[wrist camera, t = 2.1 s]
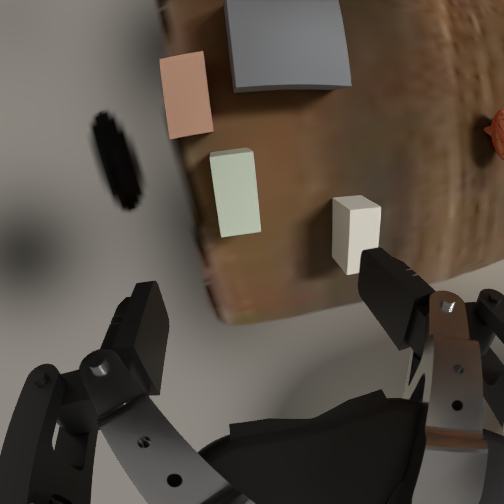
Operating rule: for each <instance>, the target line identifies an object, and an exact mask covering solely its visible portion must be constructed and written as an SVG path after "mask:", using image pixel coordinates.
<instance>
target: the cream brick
mask: <svg viewBox="0 0 504 504" xmlns="http://www.w3.org/2000/svg"><path fill="white" fill-rule="evenodd" d="M332 202H333V219H332V257H333V259H334V260H335V261H336V262H337V263H338V265H339V266H340V267H341V268H342V270H343V271H344V272H345V273H346V275H350V274H355V273H359V268H360V257H361V253H362V251H363V250H366V249H372V248H378V242H379V231H380V218H381V207H380V206H379V205H377V204H375V203H374V202H372V201H370V200H368V199H367V198H365V197H363V196H361V195H358V196H347V197H336V198H332Z"/></svg>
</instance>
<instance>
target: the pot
mask: <svg viewBox="0 0 504 504" xmlns="http://www.w3.org/2000/svg"><path fill="white" fill-rule="evenodd" d="M484 131H485V132H486V133H487V134H489V135H490V136H491V138H492V142H493V145H494V148H495V150H496V152H497V154H498V155H499V156H500V157H501V158H502V159H503V160H504V109H502V110H499V111H498V112H497V113H496V115H495V116H494V118H493V120H492V123H491V126H487V127H484Z"/></svg>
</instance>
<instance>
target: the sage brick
mask: <svg viewBox="0 0 504 504" xmlns="http://www.w3.org/2000/svg"><path fill="white" fill-rule="evenodd" d="M210 164H211V171H212V179H213V186H214V193H215V200H216V206H217V213H218V220H219V226H220V233H221V237H228V236H234V235H241V234H248V233H255V232H261V226H260V215H259V205H258V195H257V184H256V174H255V165H254V155H253V151H251V150H250V149H248V148H240V149H232V150H224V151H217V152H210Z"/></svg>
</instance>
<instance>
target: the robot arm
mask: <svg viewBox="0 0 504 504" xmlns="http://www.w3.org/2000/svg"><path fill="white" fill-rule="evenodd" d="M358 291H359V294H360V297H361V298H362V300H363V301H364V302H365V304H366V305H367V306H368V308H369V309H370V310H371V312H372V313H373V315H374V316H375V317H376V319H377V320H378V321H379V323H380V324H381V326H382V327H383V328H384V330H385V331H386V332H387V334H388V335H389V337H390V338H391V340H392V341H393V342H394V344H395V345H396V346H397V348H398V350H399V351H400V350H403V349H406V348H408V347H411V348H412V349H413V350H412V353H411V356H410V362H409V368H408V374H407V380H406V385H405V391H404V395H403V398H386V396H385V395H384V393H383V391H382V389H381V390H378V391H375V392H372V393H369V394H366V395H363V396H360V397H357V398H354V399H350V400H348V401H346V402H344V403H342V404H340V405H338V406H337V407H335V408H333V409H331V410H329V411H327V412H325V413H323V414H321V415H320V416H317V417H315V418H312V419H263V420H257V421H250V422H243V423H236V424H235V423H234V424H229V427H230V435H227V436H225V437H222V438H220V439H217V440H215V441H213V442H212V443H210V444H208V445H207V446H205V447H204V448H202V449H201V450H200V451H199V452H198V453H197V452H196V451H195V450H194V449H193V448H192V447H191V446H190V444H189V443H188V442H187V441H186V440H185V439H184V438H183V437H182V436H181V435H180V434H179V432H178V431H177V430H176V429H175V428H174V427H173V426H172V424H171V423H170V422H169V421H168V420H167V419H166V417H165V416H164V415H163V414H162V412H161V411H160V410H159V409H158V407H157V406H156V405H155V404H154V403H153V401H152V400H151V399H150V397H149V395H160V389H161V381H162V373H163V366H164V358H165V352H166V345H167V338H168V333H169V318H168V314H167V311H166V308H165V305H164V302H163V299H162V295H161V292H160V289H159V286H158V284H157V282H156V281H149V282H142V283H137V284H136V286H135V288H134V290H133V293H132V295H131V297H126V298H125V299H124V300H123V301H122V302H121V303H120V304H119V305H118V307H117V309H116V311H115V314H114V317H113V318H112V321H111V324H110V326H109V328H108V331H107V333H106V336H105V338H104V340H103V343H102V346H101V348H100V349H99V350H96V351H93V352H92V353H90V354H88V355H87V356H86V357H85V358H84V359H83V360H82V362H81V364H80V366H79V370H75V371H72V372H68V373H64V374H60V373H59V371H58V370H57V368H56V367H55V366H54V365H51V364H43V365H40V366H38V367H36V368H35V369H34V370H32V371H31V373H30V374H29V375H28V377H27V379H26V382H25V384H24V386H23V389H22V391H21V394H20V397H19V399H18V402H17V405H16V407H15V410H14V412H13V415H12V418H11V421H10V424H9V427H8V430H7V433H6V437H5V440H4V444H3V447H2V451H1V455H0V504H90V502H91V486H92V474H93V464H94V455H95V447H96V440H97V434H98V430H101V431H102V433H103V435H104V437H105V438H106V440H107V442H108V444H109V446H110V447H111V449H112V451H113V452H114V454H115V456H116V458H117V459H118V461H119V462H120V464H121V465H122V467H123V469H124V470H125V472H126V473H127V475H128V476H129V478H130V479H131V481H132V482H133V484H134V485H135V486H136V488H137V489H138V491H139V492H140V493H141V495H142V496H143V497H144V499H145V500H146V501H147V503H148V504H504V434H503V435H500V434H497V433H494V432H491V431H489V430H486V429H483V396H484V398H485V400H486V401H487V403H488V404H489V406H490V408H491V409H492V411H493V412H494V414H495V416H496V418H497V420H498V421H499V423H500V425H501V426H502V428H503V433H504V365H503V364H502V362H501V361H500V360H499V358H498V357H497V356H496V354H495V353H494V352H493V351H492V349H491V348H490V345H491V344H492V342H493V340H494V338H495V336H496V335H497V337H498V338H499V339H500V340H501V341H502V342H503V344H504V295H503V294H501V293H500V292H498V291H496V290H493V289H484V290H482V291H481V292H480V294H479V296H478V299H477V302H468V303H464V301H463V300H462V299H461V298H460V297H459V296H458V295H456V294H454V293H452V292H449V291H435V290H434V289H433V288H432V287H430V286H429V285H428V284H427V283H426V282H425V281H424V280H423V279H422V278H421V277H420V276H418V275H417V274H416V273H415V272H414V271H413V270H411V268H410V267H408V266H407V265H406V264H405V263H404V262H402V261H400V260H398V259H396V258H394V257H391V256H390V255H389V254H388V253H387V252H386V251H385V250H383V249H382V248H380V247H378V248H372V249H366V250H363V251H362V253H361V257H360V268H359V278H358ZM56 423H57V424H58V425H59V426H60V427H59V432H58V436H57V441H56V445H55V450H53V447H52V438H53V434H54V429H55V425H56Z"/></svg>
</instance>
